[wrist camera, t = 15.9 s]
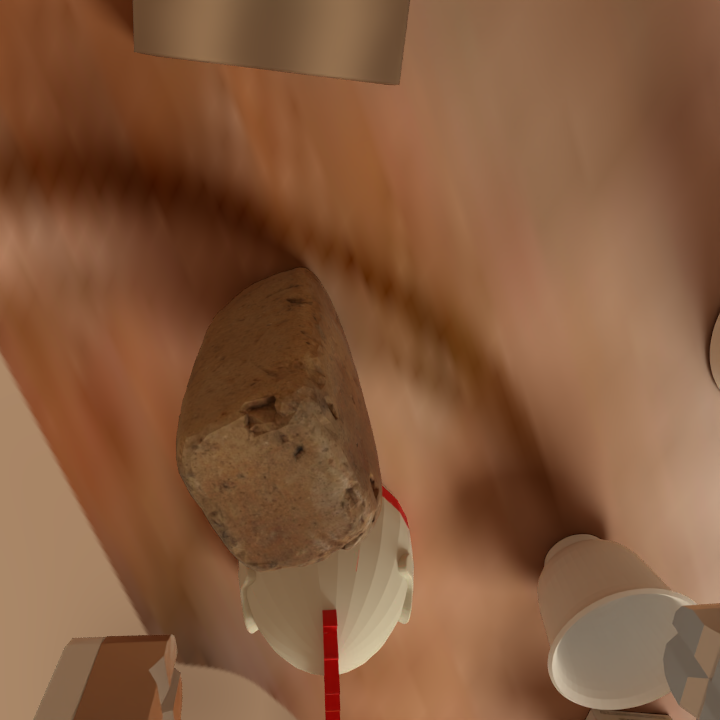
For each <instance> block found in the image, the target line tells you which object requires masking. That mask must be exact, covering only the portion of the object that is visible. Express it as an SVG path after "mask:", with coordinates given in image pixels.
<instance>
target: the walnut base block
mask: <svg viewBox="0 0 720 720" xmlns="http://www.w3.org/2000/svg"><path fill="white" fill-rule="evenodd" d="M409 4H410V0H133V28H134V52H137V53H142V54H147V55H152V56H159V57H167V58H175V59H183V60H191V61H199V62H207V63H215V64H224V65H232V66H240V67H248V68H256V69H264V70H272V71H280V72H288V73H296V74H304V75H312V76H320V77H328V78H336V79H345V80H353V81H361V82H369V83H377V84H385V85H399V84H400V76H401V68H402V60H403V52H404V44H405V36H406V28H407V20H408V12H409Z"/></svg>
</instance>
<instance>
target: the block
mask: <svg viewBox="0 0 720 720" xmlns="http://www.w3.org/2000/svg"><path fill="white" fill-rule="evenodd" d="M176 460H177V465H178V470H179V474H180V476H181V478H182V479H183V481H184V483H185V485H186V487H187V489H188V491H189V493H190V495H191V496H192V497H193V499H194V500H195V501H196V502H197V504H198V505H199V506H200V507H201V509H202V511H203V512H204V514H205V516H206V517H207V519H208V521H209V522H210V524H211V526H212V527H213V529H214V530H215V532H216V533H217V534H218V536H219V537H220V539H221V540H222V541H223V543H224V544H225V546H226V547H227V548H228V550H229V551H230V552H231V553H232V554H233V555H234V556H235V557H236V558H237V559H238V560H239V561H240V562H241V563H242V564H244V565H246V566H247V567H249V568H251V569H253V570H255V571H257V572H269V571H276V570H279V569H282V568H298V567H305V566H308V565H311V564H314V563H318V562H321V561H324V560H326V559H328V558H329V557H330V556H331V555H332V553H334V552H336V551H338V550H340V549H343V550H350V549H352V548H354V547H356V546H357V545H359V544H360V543H361V542H362V541H364V539H365V538H366V537H367V536H368V534H369V533H370V532H371V530H372V529H373V528H374V526H375V524H376V522H377V519H378V517H379V515H380V513H381V507H382V481H381V474H380V468H379V461H378V455H377V450H376V445H375V441H374V437H373V432H372V428H371V424H370V420H369V416H368V412H367V409H366V405H365V401H364V397H363V393H362V389H361V386H360V382H359V378H358V374H357V371H356V368H355V365H354V362H353V358H352V355H351V352H350V348H349V345H348V342H347V340H346V337H345V334H344V331H343V329H342V326H341V323H340V321H339V318H338V316H337V313H336V311H335V309H334V306H333V304H332V302H331V300H330V298H329V296H328V294H327V292H326V291H325V289H324V287H323V286H322V284H321V282H320V281H319V279H318V278H317V277H316V276H315V274H314V273H312V272H311V271H309V270H308V269H307V268H302V267H299V268H294V269H292V270H289V271H285V272H281V273H278V274H276V275H273V276H271V277H268V278H266V279H263V280H261V281H259V282H256V283H254V284H252V285H251V286H249V287H248V288H246V289H244V290H243V291H242V292H241V293H240V294H238V295H237V296H236V297H235V298H234V299H232V300H231V302H230V303H229V304H228V305H227V306H226V307H224V308H223V309H222V310H221V311H219V312H218V313H217V314H216V316H215V317H214V318H213V322H212V323H211V325H210V326H209V328H208V330H207V332H206V335H205V337H204V340H203V343H202V345H201V348H200V350H199V353H198V356H197V358H196V361H195V364H194V366H193V369H192V373H191V376H190V379H189V382H188V385H187V390H186V393H185V396H184V398H183V402H182V407H181V414H180V416H179V423H178V430H177V437H176Z"/></svg>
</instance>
